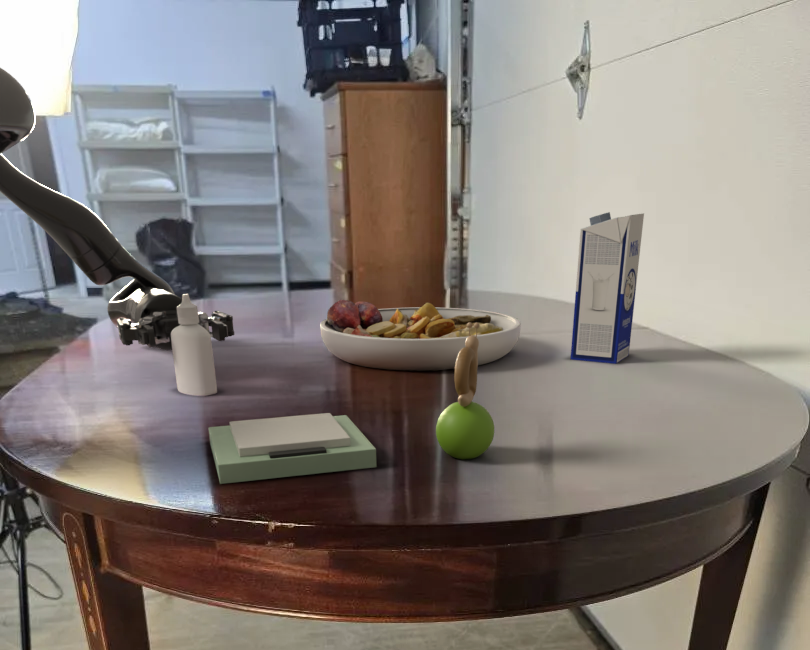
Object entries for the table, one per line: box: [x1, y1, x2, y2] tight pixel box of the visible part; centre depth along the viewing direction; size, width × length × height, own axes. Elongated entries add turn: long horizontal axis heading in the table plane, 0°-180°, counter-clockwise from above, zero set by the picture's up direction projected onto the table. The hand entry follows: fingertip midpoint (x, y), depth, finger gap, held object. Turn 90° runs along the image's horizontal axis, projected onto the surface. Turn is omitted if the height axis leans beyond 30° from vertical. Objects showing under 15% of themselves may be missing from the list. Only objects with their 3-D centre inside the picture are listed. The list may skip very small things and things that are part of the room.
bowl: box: [319, 299, 522, 372], centre depth 117 cm, size 30×30×8 cm
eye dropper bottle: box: [171, 293, 218, 397], centre depth 95 cm, size 4×6×12 cm
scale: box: [208, 412, 377, 485], centre depth 73 cm, size 14×12×3 cm
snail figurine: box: [435, 322, 495, 460], centre depth 71 cm, size 5×6×12 cm
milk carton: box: [570, 211, 645, 365], centre depth 110 cm, size 7×7×20 cm
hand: (187, 335), depth 95 cm, fingers open, 8 cm apart
